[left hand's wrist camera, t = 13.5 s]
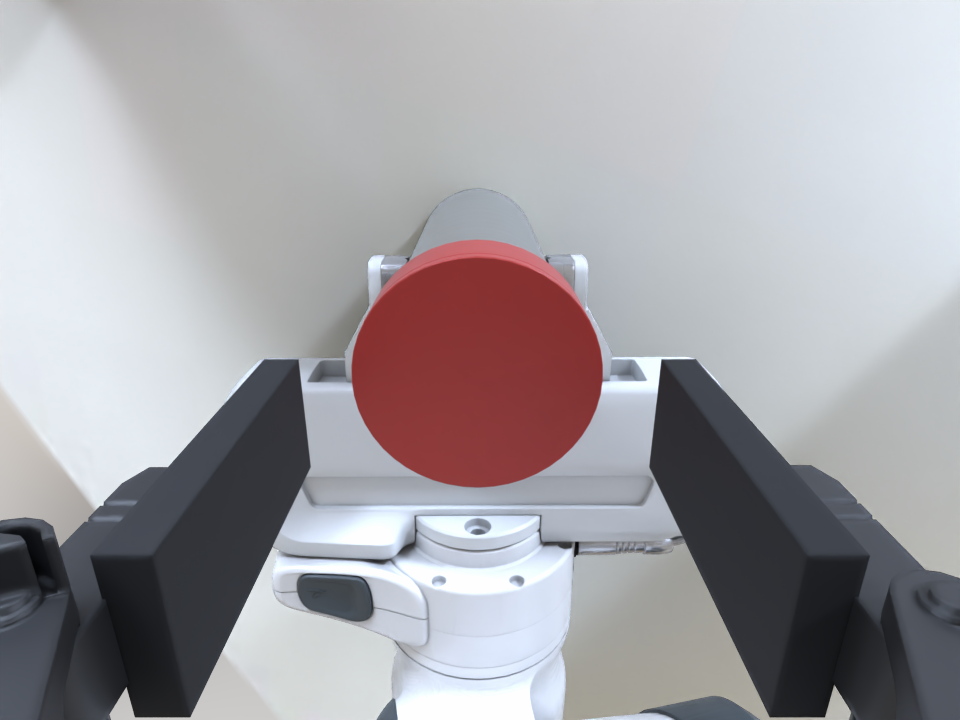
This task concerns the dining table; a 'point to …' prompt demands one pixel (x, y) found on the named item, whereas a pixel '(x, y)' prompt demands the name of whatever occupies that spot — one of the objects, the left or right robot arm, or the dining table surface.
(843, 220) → the dining table surface
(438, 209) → the grey cylinder
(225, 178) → the dining table surface
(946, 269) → the dining table surface
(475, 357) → the lid
